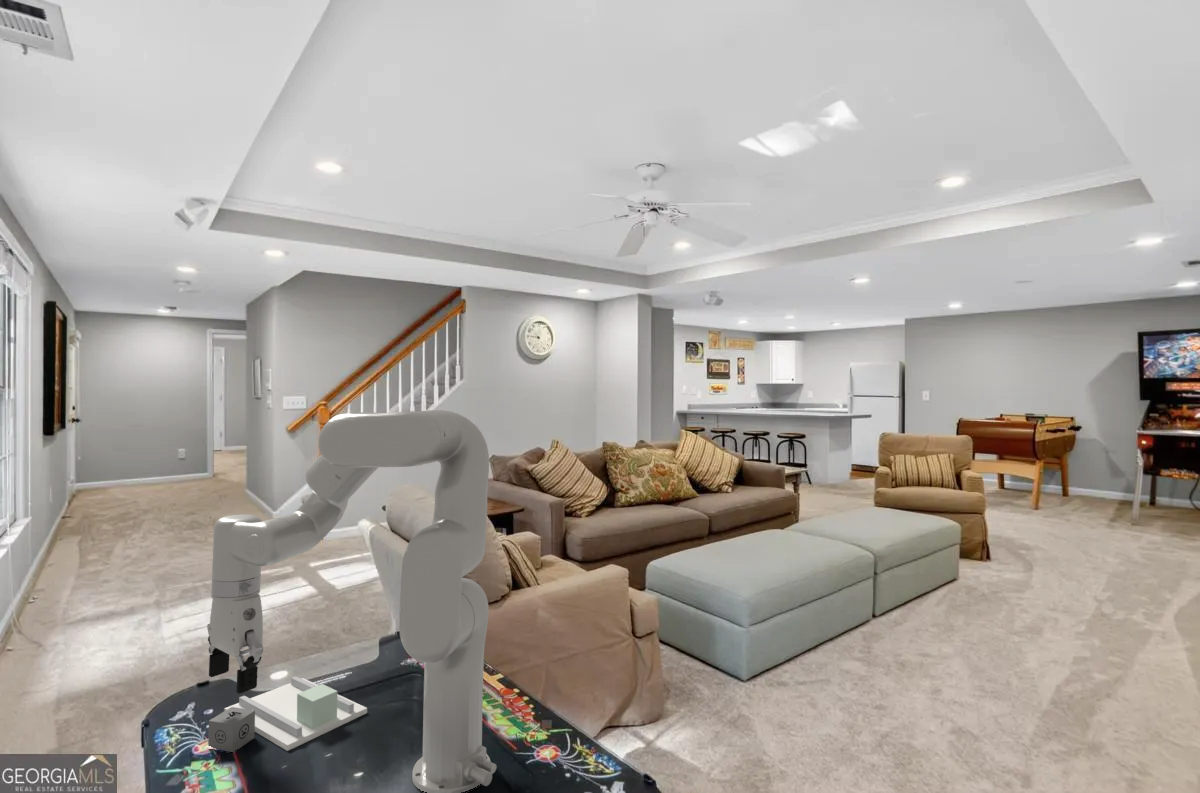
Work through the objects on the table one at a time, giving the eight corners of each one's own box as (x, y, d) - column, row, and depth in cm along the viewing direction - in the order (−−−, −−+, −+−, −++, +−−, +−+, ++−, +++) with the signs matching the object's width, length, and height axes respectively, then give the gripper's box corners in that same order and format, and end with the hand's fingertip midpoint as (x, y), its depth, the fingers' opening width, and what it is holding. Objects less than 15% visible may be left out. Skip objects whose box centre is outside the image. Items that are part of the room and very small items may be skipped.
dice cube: (254, 738, 112) (255, 710, 112) (232, 753, 107) (233, 724, 107) (231, 734, 113) (231, 706, 113) (208, 749, 108) (208, 720, 108)
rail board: (366, 713, 122) (367, 682, 122) (287, 751, 108) (287, 716, 108) (302, 682, 134) (303, 654, 134) (224, 713, 120) (224, 682, 120)
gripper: (283, 591, 109) (279, 688, 109) (233, 572, 118) (230, 661, 118) (239, 602, 103) (235, 705, 103) (190, 580, 112) (186, 675, 112)
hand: (232, 682), depth 111 cm, fingers open, 9 cm apart
